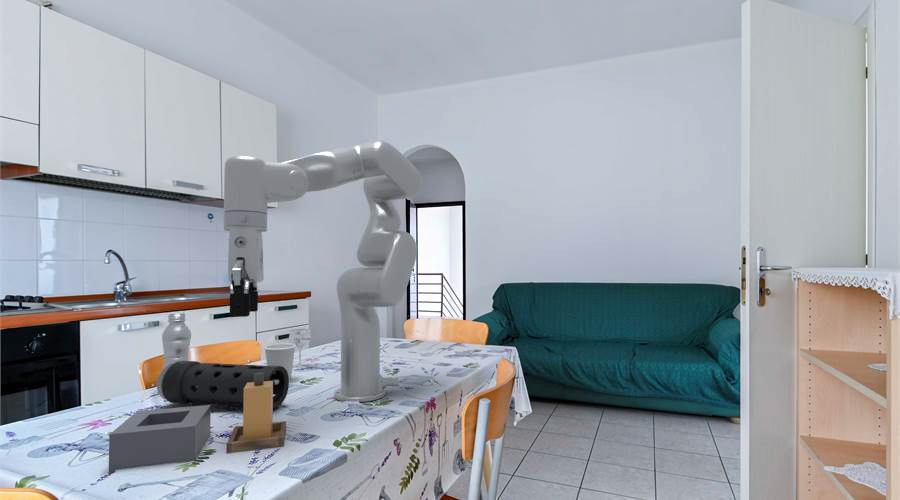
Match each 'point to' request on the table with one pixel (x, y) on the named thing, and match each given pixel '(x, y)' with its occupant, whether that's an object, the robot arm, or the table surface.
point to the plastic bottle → (176, 340)
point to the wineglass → (300, 340)
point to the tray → (239, 445)
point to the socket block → (159, 437)
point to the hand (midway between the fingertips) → (244, 313)
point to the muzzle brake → (217, 383)
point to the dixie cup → (280, 356)
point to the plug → (258, 409)
